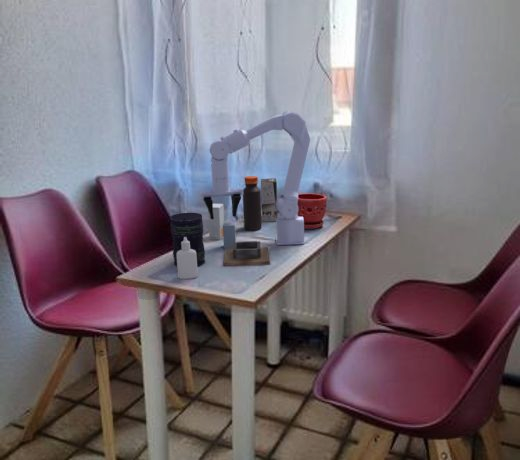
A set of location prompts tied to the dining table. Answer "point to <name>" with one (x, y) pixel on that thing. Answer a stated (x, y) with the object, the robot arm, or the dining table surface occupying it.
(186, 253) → the eye dropper bottle
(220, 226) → the skincare box
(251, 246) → the socket
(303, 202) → the plant pot
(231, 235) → the peg
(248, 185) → the vinegar
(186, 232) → the storage jar
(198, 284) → the dining table surface
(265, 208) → the coffee box
